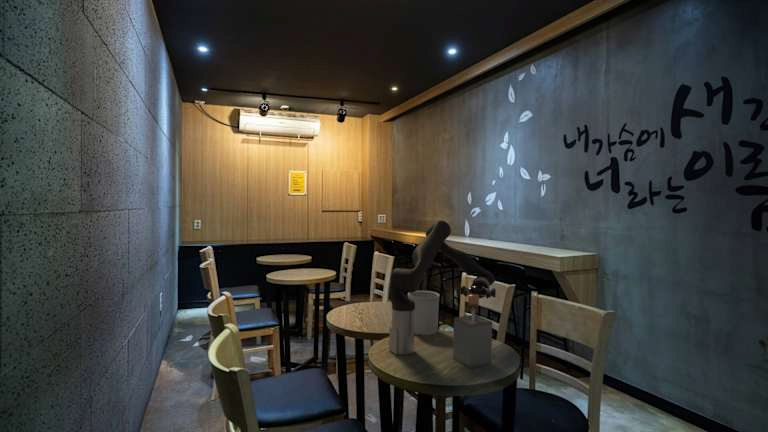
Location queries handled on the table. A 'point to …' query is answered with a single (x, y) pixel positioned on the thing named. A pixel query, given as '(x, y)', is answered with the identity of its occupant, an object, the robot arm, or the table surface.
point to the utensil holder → (425, 311)
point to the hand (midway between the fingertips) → (476, 295)
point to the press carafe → (472, 341)
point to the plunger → (473, 303)
